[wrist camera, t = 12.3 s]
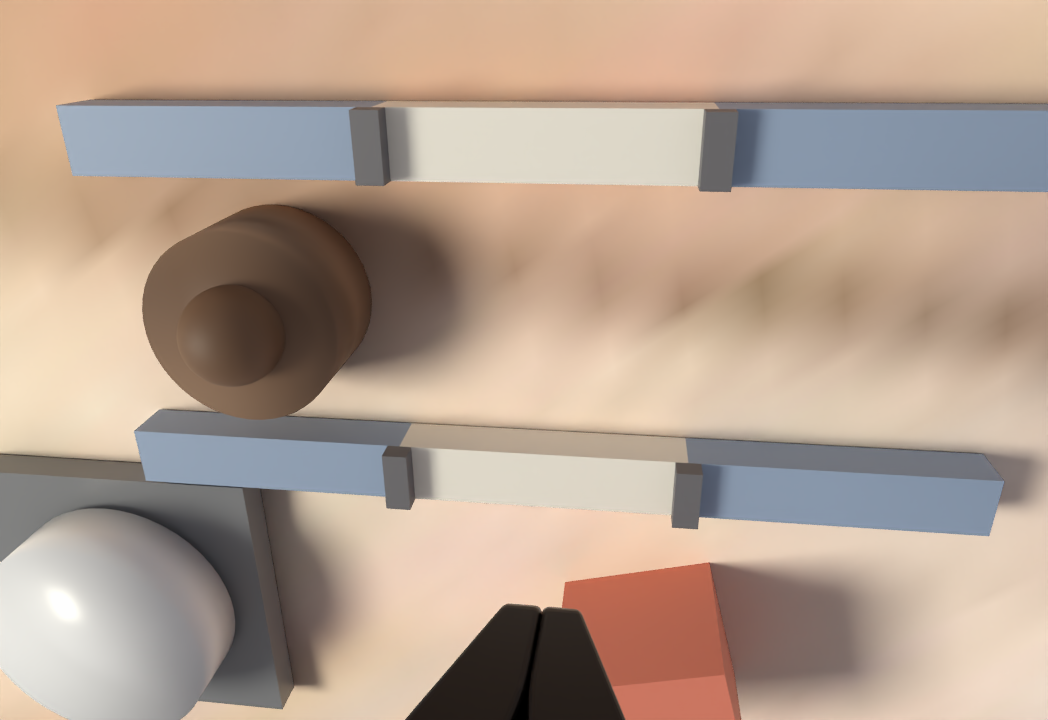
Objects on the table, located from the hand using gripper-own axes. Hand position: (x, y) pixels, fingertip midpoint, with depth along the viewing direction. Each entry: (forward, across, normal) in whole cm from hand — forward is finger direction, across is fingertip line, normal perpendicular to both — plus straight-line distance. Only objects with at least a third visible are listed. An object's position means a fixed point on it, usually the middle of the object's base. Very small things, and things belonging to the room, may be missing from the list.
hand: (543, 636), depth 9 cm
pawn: (+11, +8, 0) cm, 13 cm away
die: (+11, -2, +10) cm, 15 cm away
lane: (+11, +1, 0) cm, 11 cm away
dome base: (+11, +13, +9) cm, 19 cm away
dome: (+10, +13, +9) cm, 19 cm away
